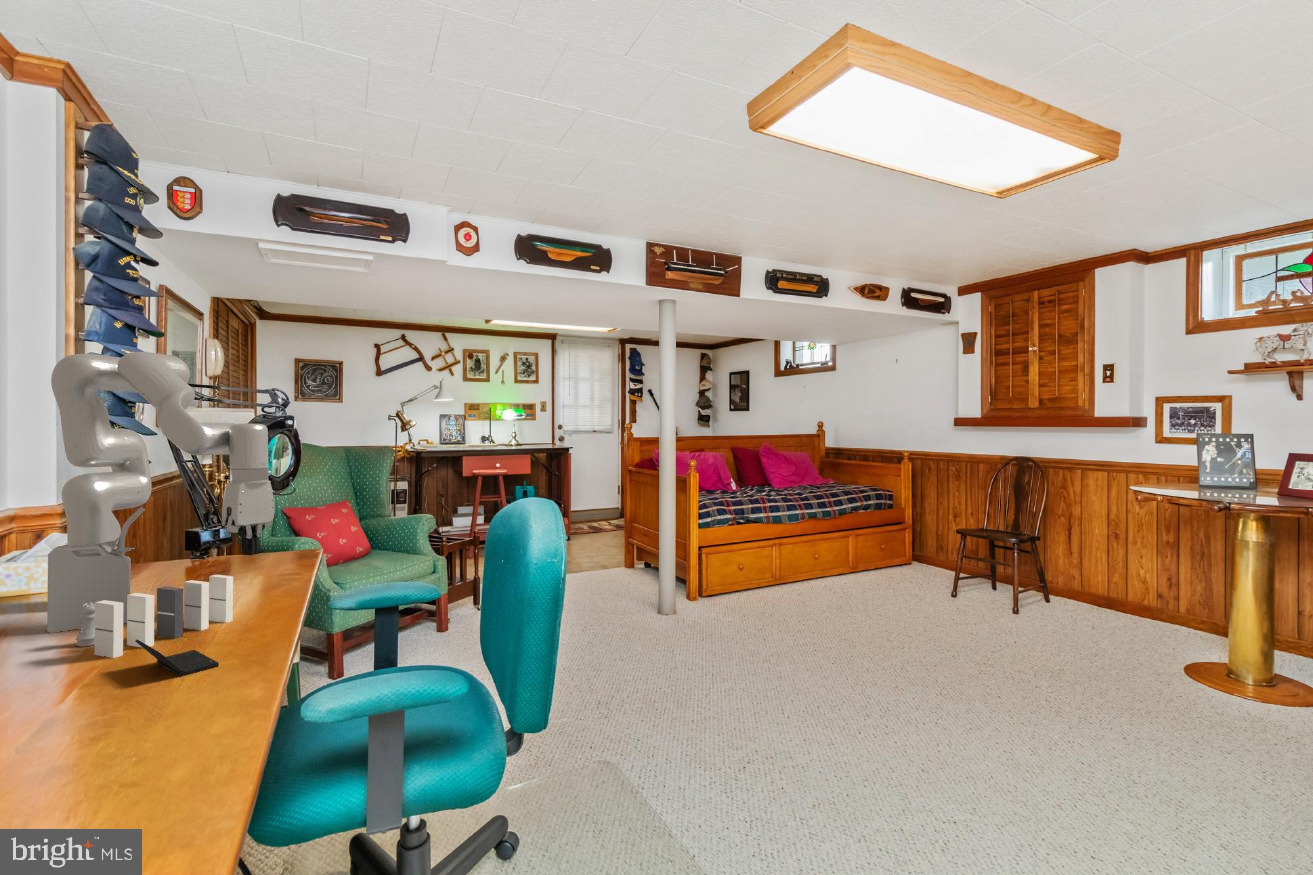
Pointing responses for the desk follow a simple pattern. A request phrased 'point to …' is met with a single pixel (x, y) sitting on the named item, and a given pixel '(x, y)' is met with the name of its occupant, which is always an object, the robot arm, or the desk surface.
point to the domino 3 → (170, 612)
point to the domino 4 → (196, 605)
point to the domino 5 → (221, 598)
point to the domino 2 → (140, 619)
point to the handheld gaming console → (182, 661)
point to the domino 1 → (109, 628)
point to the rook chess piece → (87, 626)
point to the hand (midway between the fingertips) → (250, 554)
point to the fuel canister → (87, 579)
